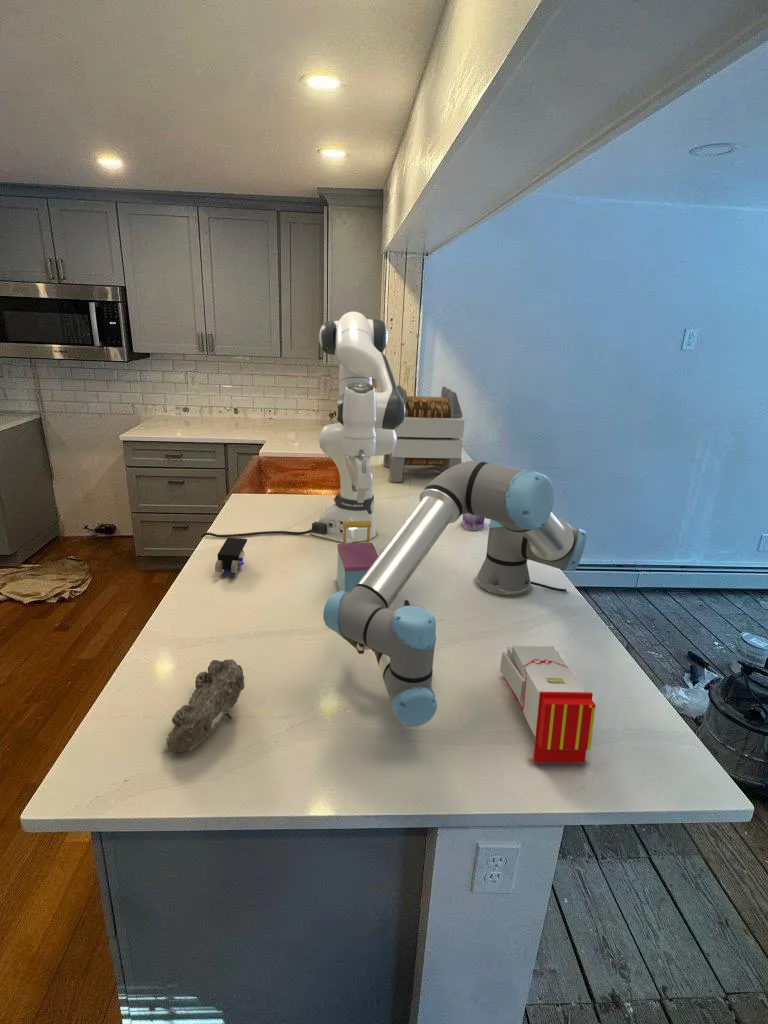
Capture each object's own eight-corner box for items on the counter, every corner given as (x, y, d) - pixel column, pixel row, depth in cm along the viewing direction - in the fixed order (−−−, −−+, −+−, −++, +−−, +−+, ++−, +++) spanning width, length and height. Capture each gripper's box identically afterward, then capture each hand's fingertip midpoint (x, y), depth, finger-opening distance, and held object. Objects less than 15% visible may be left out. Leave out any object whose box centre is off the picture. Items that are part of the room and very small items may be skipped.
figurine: (470, 532, 203) (474, 493, 198) (454, 523, 212) (457, 484, 207) (491, 529, 208) (495, 490, 202) (474, 520, 216) (478, 482, 211)
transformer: (382, 463, 289) (386, 382, 275) (445, 464, 293) (451, 384, 279) (390, 482, 257) (394, 392, 243) (460, 483, 261) (468, 394, 247)
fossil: (192, 660, 117) (244, 628, 112) (224, 691, 120) (276, 661, 115) (142, 746, 98) (202, 712, 93) (182, 779, 101) (242, 748, 96)
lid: (337, 547, 160) (337, 518, 157) (372, 545, 162) (373, 517, 159) (344, 571, 146) (345, 540, 143) (383, 569, 148) (384, 538, 145)
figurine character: (238, 584, 162) (249, 557, 175) (236, 562, 158) (247, 536, 172) (215, 584, 161) (227, 556, 175) (212, 561, 158) (225, 535, 171)
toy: (549, 628, 125) (605, 700, 96) (544, 683, 128) (596, 770, 99) (495, 627, 125) (534, 699, 95) (491, 683, 128) (527, 769, 98)
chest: (336, 581, 163) (337, 548, 160) (371, 579, 165) (372, 546, 162) (344, 607, 149) (344, 571, 146) (381, 605, 151) (383, 569, 148)
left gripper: (378, 456, 140) (375, 508, 145) (364, 437, 159) (362, 485, 163) (352, 456, 139) (351, 509, 143) (341, 438, 157) (341, 485, 162)
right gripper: (332, 681, 109) (321, 624, 128) (456, 671, 114) (428, 618, 133) (333, 648, 106) (322, 594, 126) (460, 639, 111) (430, 589, 131)
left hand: (357, 496), depth 154 cm, fingers open, 8 cm apart
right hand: (376, 606), depth 129 cm, fingers open, 13 cm apart
